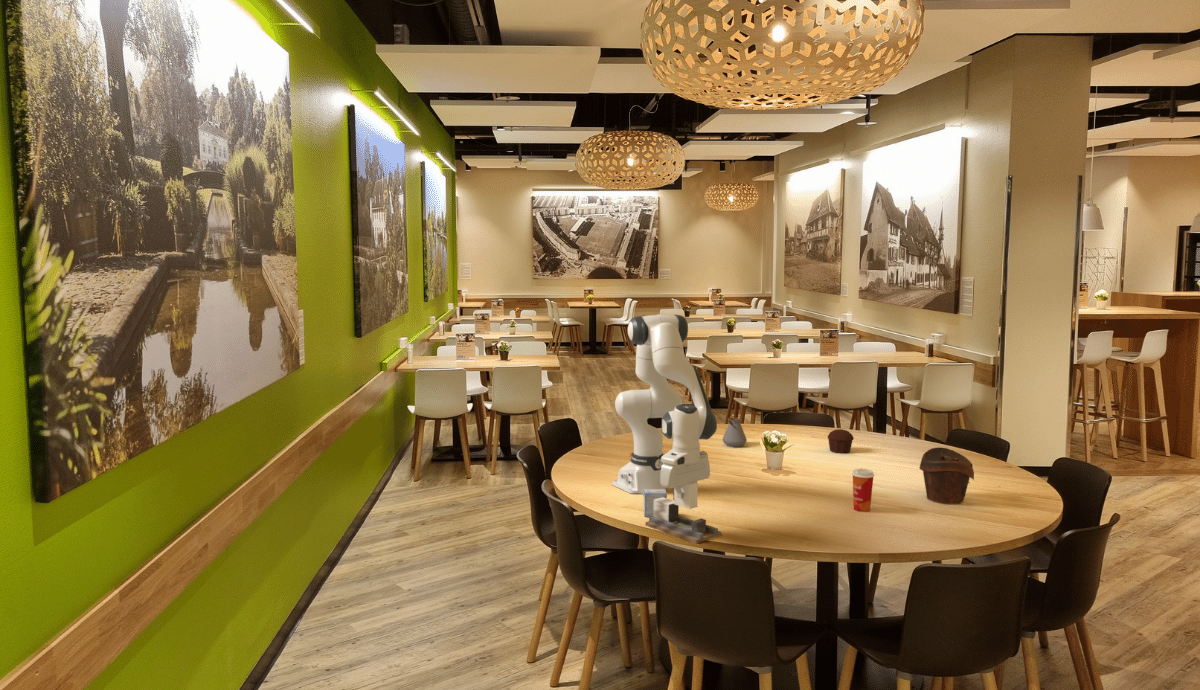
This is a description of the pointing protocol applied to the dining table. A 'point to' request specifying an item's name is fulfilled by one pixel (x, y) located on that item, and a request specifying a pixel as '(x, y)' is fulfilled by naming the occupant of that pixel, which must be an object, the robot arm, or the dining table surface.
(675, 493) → the white box
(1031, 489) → the dining table surface
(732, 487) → the dining table surface
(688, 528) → the rail
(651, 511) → the medicine box
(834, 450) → the muffin
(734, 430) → the coffee pot
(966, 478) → the chocolate cupcake
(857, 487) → the paper cup
